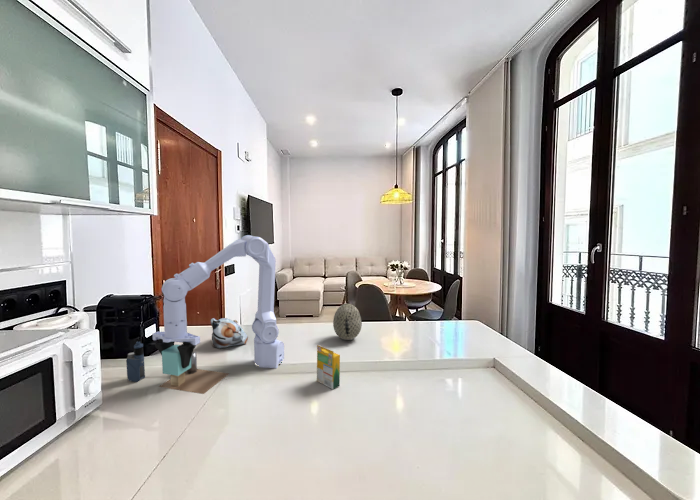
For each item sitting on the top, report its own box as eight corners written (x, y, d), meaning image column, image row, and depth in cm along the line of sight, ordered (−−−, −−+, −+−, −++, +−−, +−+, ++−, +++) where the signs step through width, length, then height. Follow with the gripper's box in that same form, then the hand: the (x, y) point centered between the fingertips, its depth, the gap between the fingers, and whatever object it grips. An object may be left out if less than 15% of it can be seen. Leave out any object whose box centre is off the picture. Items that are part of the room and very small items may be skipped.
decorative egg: (361, 345, 127) (362, 308, 125) (332, 344, 127) (332, 307, 125) (361, 334, 139) (361, 300, 137) (333, 333, 139) (334, 299, 137)
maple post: (185, 381, 95) (184, 362, 95) (178, 386, 93) (177, 366, 92) (177, 380, 96) (176, 361, 95) (170, 384, 93) (170, 365, 93)
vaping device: (140, 382, 96) (138, 344, 95) (125, 380, 97) (123, 342, 96) (147, 378, 99) (145, 340, 97) (132, 376, 100) (130, 339, 98)
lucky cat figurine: (255, 340, 130) (252, 316, 122) (233, 362, 121) (229, 337, 113) (227, 325, 135) (223, 301, 127) (204, 345, 126) (198, 320, 118)
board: (229, 376, 101) (229, 373, 100) (203, 397, 89) (203, 393, 89) (188, 370, 104) (188, 367, 104) (158, 389, 92) (158, 386, 92)
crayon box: (340, 386, 96) (340, 348, 95) (332, 390, 94) (333, 351, 93) (323, 377, 101) (323, 341, 100) (316, 381, 99) (316, 344, 98)
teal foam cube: (191, 367, 96) (190, 346, 95) (178, 375, 91) (177, 353, 90) (176, 365, 97) (175, 344, 96) (162, 373, 92) (161, 351, 91)
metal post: (198, 370, 102) (198, 352, 102) (192, 374, 100) (192, 355, 99) (191, 369, 103) (190, 351, 102) (185, 373, 100) (184, 354, 100)
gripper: (142, 322, 90) (145, 368, 92) (186, 327, 87) (188, 375, 88) (162, 315, 97) (164, 358, 98) (204, 319, 94) (205, 363, 95)
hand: (177, 365), depth 94 cm, fingers closed on teal foam cube, 5 cm apart
